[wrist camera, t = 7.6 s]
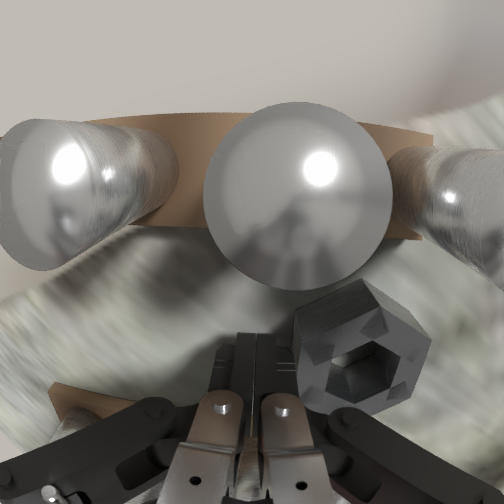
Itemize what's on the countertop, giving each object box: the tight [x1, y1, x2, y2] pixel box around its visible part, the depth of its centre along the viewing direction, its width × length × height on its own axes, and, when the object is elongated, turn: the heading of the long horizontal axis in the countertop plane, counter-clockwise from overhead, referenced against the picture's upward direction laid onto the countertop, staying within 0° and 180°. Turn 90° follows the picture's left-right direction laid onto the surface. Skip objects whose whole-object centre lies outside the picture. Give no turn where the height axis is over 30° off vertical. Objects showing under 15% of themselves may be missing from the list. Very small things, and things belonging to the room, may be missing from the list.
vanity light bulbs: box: [0, 102, 504, 504], centre depth 10 cm, size 19×18×7 cm
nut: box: [291, 278, 432, 416], centre depth 12 cm, size 5×6×2 cm
